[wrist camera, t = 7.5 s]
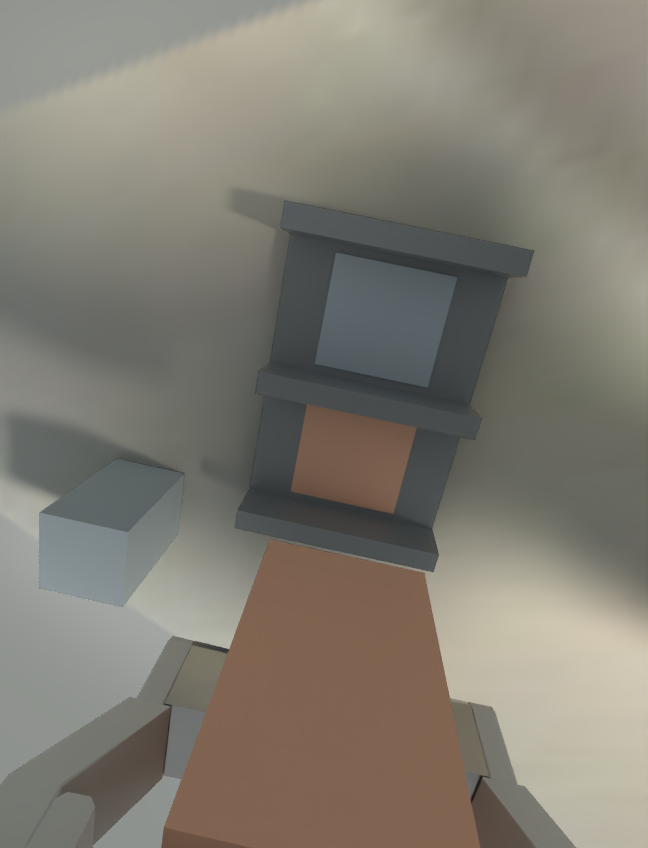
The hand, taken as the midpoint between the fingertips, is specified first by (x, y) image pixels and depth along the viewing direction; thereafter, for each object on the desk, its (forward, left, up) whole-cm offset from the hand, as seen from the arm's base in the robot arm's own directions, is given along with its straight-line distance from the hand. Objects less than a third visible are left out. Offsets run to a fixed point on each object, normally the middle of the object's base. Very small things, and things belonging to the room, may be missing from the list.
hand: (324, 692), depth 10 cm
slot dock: (0, -3, -15) cm, 16 cm away
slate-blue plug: (+11, +6, -16) cm, 20 cm away
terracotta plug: (0, 0, -2) cm, 2 cm away
